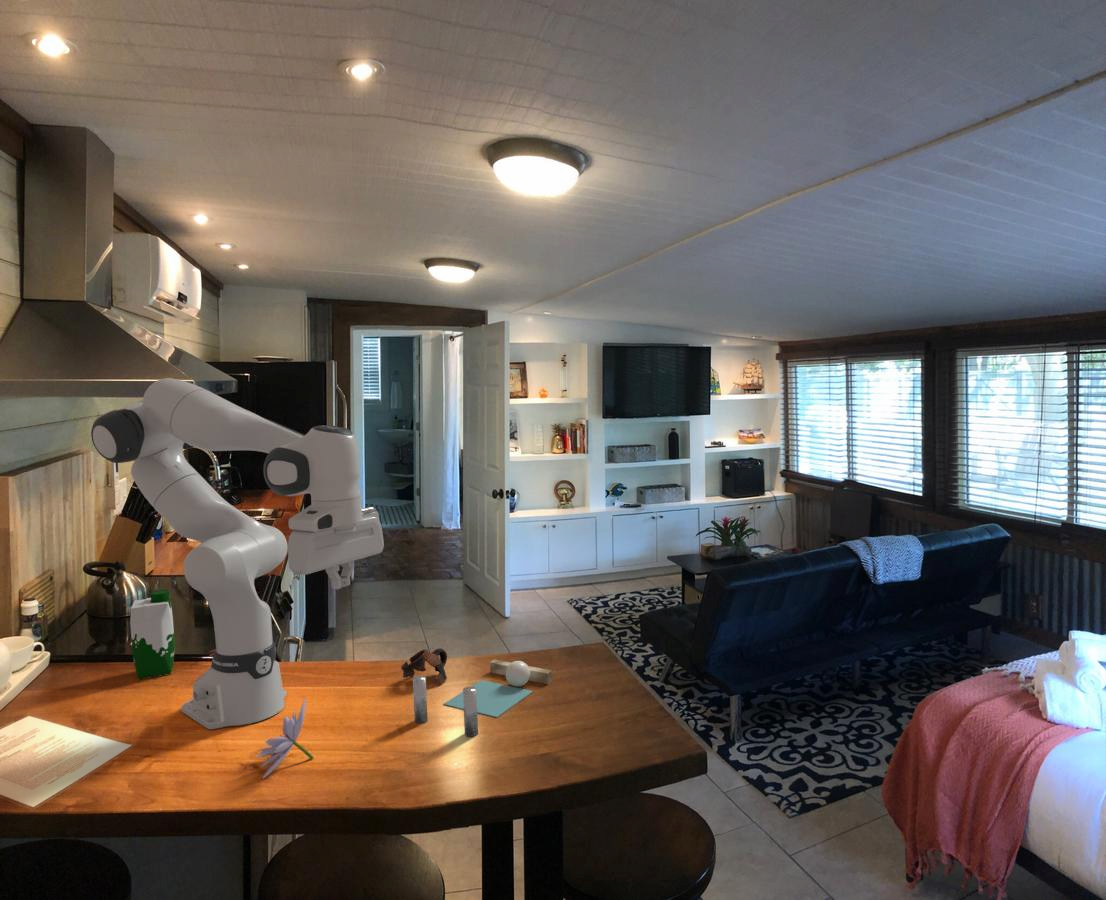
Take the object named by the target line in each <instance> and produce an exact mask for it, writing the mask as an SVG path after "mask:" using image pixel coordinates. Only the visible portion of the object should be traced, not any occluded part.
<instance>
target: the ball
mask: <svg viewBox="0 0 1106 900" xmlns="http://www.w3.org/2000/svg"><path fill="white" fill-rule="evenodd" d="M528 666H529V665H528V664H527V663H525V662H524V661H522V660H514V661H512V662H510V664H509V665H508V667H507V669H506V676H505V678H506V681H507V682H508V683H509V684H510V685H511V686H512V687H516V688H520V687H522V686H524V685H526V684H527V683H528V682H529V678H530V669H529V667H528Z"/></svg>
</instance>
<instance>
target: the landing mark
mask: <svg viewBox="0 0 1106 900" xmlns="http://www.w3.org/2000/svg"><path fill="white" fill-rule="evenodd" d="M470 687H475V688H476V692H477V714H480V715H485V716H488V717H491V718H492V717H493V718H496V719H497V718H499V717H501V716H502V715H503V714H504V713H506V712H508V711H509V710H510V709H511V708H513V707H515V706H517V704H519V703H521V701H523V700H524V699H525V698H527V697H528V696H530V695H531V694H532V693H533V692H534V691H533V690H530V689H525V688H521V687H516V686H512V685H511V686H510V685H506V684H502V683H496V682H492V681H488V680H483V679H481V680H479V681H478V682H476V683H474V684H473V685H471V686H470ZM443 705H444V706H447V707H450V708H451V707H452V708H456V709H460V710H463V711H464V704H463V691H461V692H460V693H459V694H457V695H455V696H453V697H452V698H450V699H449V700H447V701H446V702H444V703H443Z"/></svg>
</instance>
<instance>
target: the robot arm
mask: <svg viewBox="0 0 1106 900" xmlns="http://www.w3.org/2000/svg"><path fill="white" fill-rule="evenodd" d="M90 432H91V433H90V435H91V441H92V444H93V446H94V448H95V450H96V452H98V454H99V455H101V456H102V458H104V459H105V460H107V461H109V462H111V463H114V464H123V463H124V464H125V463H130V462H133V463H132V465H131V469H130V474H131V477H132V479H133V481H134V483H135V484H136V486H137V487H138V490H139V491H140V492H141V494H142V496H144V498H145V499H146V500H147V501H148V502H149V504H150V505H151V506H152V507H153V509H154V510H155V511H156V512H157V513H158V514H159V515H160V516H161V517H162V518H163V519H164V520H165V521H166V522H167V523H168V525H169V526H170V527H171V528H172V529H173V530H174V531H175V533H176V534H178V535H180V536H181V537H183V538H185V539H189V540H193V541H196V542H198V543H200V544H198V545H197V546H196V547H194V548H192V549H191V550H190V551H189V552H188V553H187V554H186V556H185V558H184V561H183V574H184V578H185V580H186V582H187V583H188V584H189V586H190V587H191V588H192V589H194V591H195V590H196V591H197V592H199V593H200V594H202V596H203V597H204V599H205V601H206V602H207V604H208V606H209V608H210V611H211V615H212V621H213V625H214V626H213V627H214V628H213V629H214V639H215V647H216V648H215V649H212V650H210V651H208V653H210V654H209V656H208V657H212V659H211V660H212V661H211V666H210V667H209V668H208V669H206V671H205V672H204V673H203V674H202V675H201V676H199V677H198V678H197V679H196V680H195V681H194V683H193V685H192V686H193V687H192V698H191V699H190V700H188V701H187V702H185V703H184V704H182V705H181V707H180V708H181V709H180V710H181V712H182V713H183V714H185V715H186V716H188V717H189V718H191V719H193V720H194V721H195V722H197V723H199V724H200V725H201V726H203V727H204V728H206V729H208V730H216V729H221V728H225V727H232V726H233V727H235V726H244V725H250V724H253V723H254V724H255V723H257V722H261V721H264V720H265V719H268V718H271V717H273V716H274V715H277V714H278V713H280V712H281V711H282V710H283V708H285V699H286V697H287V696H286V694H287V695H288V693H287V690H286V689H283V688H284V687H283V684H282V683H283V682H282V676H281V670H280V664H279V662H278V661H277V659H276V658H277V653H276V652H277V648H276V647H277V646H276V644H275V643H276V642H275V641H274V640H273V626H272V625H273V624H272V612H271V608H270V606H269V604H268V603H267V602H266V601H264V600H261V598H260V597H259V596H258V592H257V591H256V586H255V579H257V578H259V577H261V576H264V575H266V574H268V573H270V572H272V571H273V570H274V569H275V568H277V567H278V566H279V565H280V564H281V563H282V562H283V561H284V560H285V559H286V556H287V555H288V556H287V557H288V558H287V559H288V567H289V570H290V571H291V572H292V573H293V574H295V575H303V576H305V575H310V574H313V573H316V572H317V573H318V572H319V571H320V572H321V571H323V570H325V572H326V574H327V576H328V577H329V579H330V580H331V588H332V589H334V590H340V589H343V588H346V587H349V586H350V585H351V575H352V573H353V570H354V569H355V561H358V560H361V559H364V558H367V557H372V556H374V555H375V556H376V555H378V554H381V553H382V552H383V550H384V547H385V542H384V535H383V529H382V524H381V522H380V521H381V520H380V514H379V512H378V511H377V509H376V508H374V507H373V506H367V507H365V508H362V493H361V490H360V486H359V478H360V475H361V474H360V473H361V468H360V457H359V456H360V455H359V448H358V447H359V446H358V442H357V439H356V436H355V434H354V432H352V430H350V429H349V428H346V427H344V426H343V427H342V426H338V425H329V424H327V425H316V426H313V427H312V428H310V430H308V432H307V433H306V434H303V433H300V432H298V431H296V430H294V429H291V428H289V427H287V426H285V425H282V424H279V423H278V422H275V421H273V420H270V419H267V418H265V417H262V416H260V415H258V414H256V413H255V412H252V411H250V410H249V409H245V408H244V407H241V406H239V405H237V404H235V403H233V402H231V401H229V400H227V399H225V398H223V397H221V396H219V395H217V394H215V393H214V392H212V391H210V390H209V389H206V388H203V387H201V386H198V385H196V384H195V383H192V382H188V381H185V380H181V379H178V378H172V377H166V378H161V379H158V380H156V381H155V382H153V383H151V384H150V385H149V386H148V388H147V389H146V391H144V394H143V398H142V400H140V401H138V402H136V403H133V404H129V405H127V406H124V407H121V408H120V409H113V410H110V411H108V412H106V413H104V414H103V415H101V416H99V417H97V419H95V420H94V422H93V424H92V427H91V431H90ZM194 447H195V448H197V449H201V450H204V451H209V452H210V451H211V452H224V451H225V452H227V451H252V452H253V451H255V452H261V453H266V454H267V455H266V458H265V459H264V462H263V477H264V481H265V483H266V485H267V487H268V488H269V489H270V490H271V491H272V492H273V493H275V494H276V495H279V496H283V497H284V496H285V497H295V496H301V495H307V494H309V495H310V498H311V499H310V500H311V502H310V503H311V504H310V505H309V506H307V507H305V508H304V509H303V510H301V511H300V512H298V513H296V514H295V515H293V516H291V517H290V518H289V519H288V528H289V530H292V532H291V533H290V535H289V537H288V542H287V539H286V536H285V535H284V533H283V532H282V531H281V530H280V529H278V528H276V527H275V526H272V525H268V524H265V523H262V522H261V521H257V520H256V519H254V518H253V517H252V516H249V515H247V514H246V513H244V512H243V511H241V510H240V509H237V507H235V506H234V505H232V504H231V503H229V502H228V501H227V500H226V499H224V497H222V496H221V495H220V494H219V493H218V492H217V491H216V490H215V489H214V488H213V487H212V485H210V483H208V482H207V480H206V479H205V478H204V477H203V476H202V475H201V474H200V473H199V472H198V471H197V470H196V468H194V467H193V466H192V465H191V464H190V463H189V462H188V460H187V459H186V457H185V454H184V450H191V449H193V448H194ZM340 567H342V570H341V573H340V574H339V572H340ZM285 696H286V697H285ZM284 698H285V699H284Z"/></svg>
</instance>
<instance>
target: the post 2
mask: <svg viewBox="0 0 1106 900" xmlns="http://www.w3.org/2000/svg"><path fill="white" fill-rule="evenodd" d="M462 692H463V704H464V710H463V722H464V723H463V727H464V736H465V737H466V738H474V737H477V736H479V735H478V734H479V723H478V721H479V720H478V719H479V718H478V713H477V692H476V688H475V687H471V686H466V687H464V688H462Z"/></svg>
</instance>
